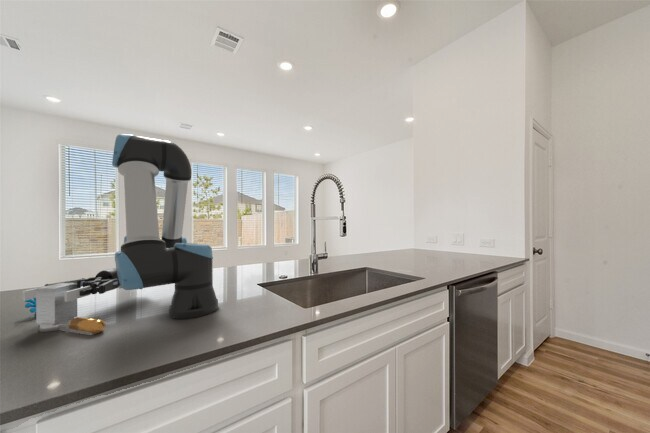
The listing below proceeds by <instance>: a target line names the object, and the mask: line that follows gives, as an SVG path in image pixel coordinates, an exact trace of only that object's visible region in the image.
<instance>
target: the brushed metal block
mask: <svg viewBox="0 0 650 433" xmlns="http://www.w3.org/2000/svg"><path fill="white" fill-rule="evenodd" d="M57 283H58V284H54V285H49V286H45V285H44V286H41V287H36V311H35V312H36V314H35V316H36V319H35V320H36V323H35V324H36V325H40V324H53V325H55V324H58V323H61V322H63V321H66V320H69V319H72V318H76V317H78V299H74V300H71V301H67V302H65V292H67V291H70V290H74V289H77V283H59V282H57Z"/></svg>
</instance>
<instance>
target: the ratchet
mask: <svg viewBox="0 0 650 433" xmlns="http://www.w3.org/2000/svg"><path fill="white" fill-rule="evenodd" d="M106 325H107V323H106V321H105V320H103V319H99V318H92V317H91V318H90V317H83V316H77V317H75V318H72V319H69V320H66V321H63V322H61V323H58V324H55V325H53V324H39V332H40V333H50V332H57V331H61V332H68V333H74V334H79V333H80V334H81V335H86V336H87V335H88V336H93V335H95V334H100V333H101V332H103V331H104V330H105V329H106ZM80 334H79V335H80Z"/></svg>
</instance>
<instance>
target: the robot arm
mask: <svg viewBox="0 0 650 433" xmlns="http://www.w3.org/2000/svg"><path fill="white" fill-rule="evenodd" d="M190 162H191V161H190V159H189V158H188V156H187V154H186V153H185V150H183V149H182V148H181V147H180V146H179V145H178V144H176V143H175V142H172V141H169V140H166V139H163V140H162V139H158V138H150V137H146V136H139V135H135V134H126V133H119V134H117V135H116V137H115V141H114V147H113V155H112V160H111V163H112V164H111V166H112V167H114V168H117V172H118V173H119V174H120V175H121V176H123V180H124V181H123V182H124V184H123V185H124V186H123V187H124V205H125V206H124V207H125V209H124V211H125V228H126V229H125V232H126V235H125V236H124V237H123V243H122V244H121V246H120V250H118V251H116V252H115V253H114V262H115V267H114V268H110V269H109V268H108V269H105V270H101V271H98V273H97V274H96V275H95V276H92V277H88V278H83V277H82V278H78V279H73V280H66V281H60V282H55V283H54V282H53V283H46V284H44V286H49V285H54V284H58V283H77V289H74V290H70V291H67V292H65V302H67V301H71V300H74V299H77V300H78V299H81V298H84V297H87V296H90V295H97V294H99V295H101V294H102V295H104V294H105V293H107V292H109V291H113V290H116V289H120V290H121V289H123V290H125V291H133V290H143V289H148V288H153V287H160V286H165V285H172V284H174V292H173V296H172V298H171V301H170V302H171V303H170V305H169V307H168V317H170V318H172V319H178V320H179V319H183V320H184V319H194V318H199V317H203V316H207V315H209V314H212V313H213V312H215V311H217V310H218V309H219V299H218V298H217V295H216V292H215V288H214V285H213V282H214V281H213V276H214V274H213V271H214V270H213V260H214V257H213V249H212V247H211V246H210V245H209V244H205V243H204V244H203V243H192V242H189V243H188V241H187V238H186V237H185V236H183V231H184V230H183V228H184V220H185V213H186V212H185V210H186V204H187V203H186V202H187V200H186V199H187V193H188V183H189V182H190V181H191V180H192V175H193V174H192V165H191V163H190ZM160 172H163V177H164V178H165V180H166V181H165V191H164V192H165V193H164V205H163V217H162V218H163V219H162V229H161V230H162V231H161V237H160V229H159V217H158V206H157V204H158V203H157V193H156V181H155V178H156V177H157V176H159V173H160ZM36 288H37V287H36ZM36 288H32V289H31V288H30V289H26V290H23V291H22V293H21V294H22V298H21V299H22V302H25V301H26V300H30V299H32V300H34V298H36Z"/></svg>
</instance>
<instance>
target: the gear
mask: <svg viewBox="0 0 650 433" xmlns="http://www.w3.org/2000/svg"><path fill="white" fill-rule="evenodd" d="M24 303H26V304H25V305H24V308H26V309H28V308H30V309H29V312H30V313H32V314H33V313H34V314H35V315H36V298H34V299H30V300H26V301H24Z"/></svg>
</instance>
